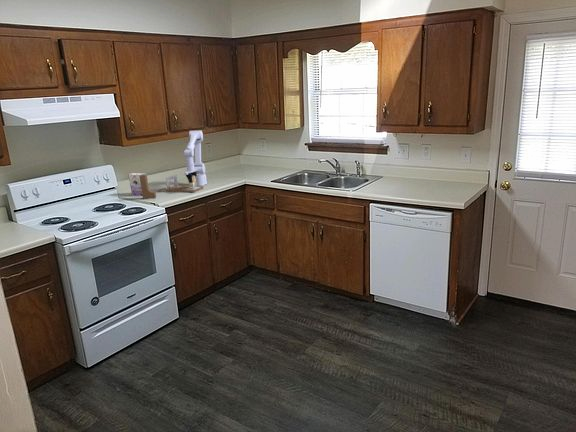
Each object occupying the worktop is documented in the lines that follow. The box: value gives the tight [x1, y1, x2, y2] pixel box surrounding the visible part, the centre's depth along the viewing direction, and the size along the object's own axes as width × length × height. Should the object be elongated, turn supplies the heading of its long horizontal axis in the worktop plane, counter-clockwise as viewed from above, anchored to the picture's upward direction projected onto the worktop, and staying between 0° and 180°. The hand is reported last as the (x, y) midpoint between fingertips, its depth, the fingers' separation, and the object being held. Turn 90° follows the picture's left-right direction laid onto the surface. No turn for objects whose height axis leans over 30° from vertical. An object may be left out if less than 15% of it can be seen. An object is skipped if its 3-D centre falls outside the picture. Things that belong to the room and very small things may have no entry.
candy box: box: [128, 172, 144, 196], centre depth 350 cm, size 14×6×16 cm, turn 59°
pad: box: [186, 187, 200, 190], centre depth 354 cm, size 8×8×1 cm
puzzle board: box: [164, 185, 204, 194], centre depth 358 cm, size 14×27×2 cm, turn 68°
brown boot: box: [139, 173, 157, 200], centre depth 336 cm, size 9×4×18 cm, turn 95°
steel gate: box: [165, 174, 179, 189], centre depth 360 cm, size 12×2×9 cm, turn 158°
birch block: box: [187, 176, 196, 187], centre depth 353 cm, size 4×4×8 cm
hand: (192, 182), depth 353 cm, fingers closed on birch block, 4 cm apart
